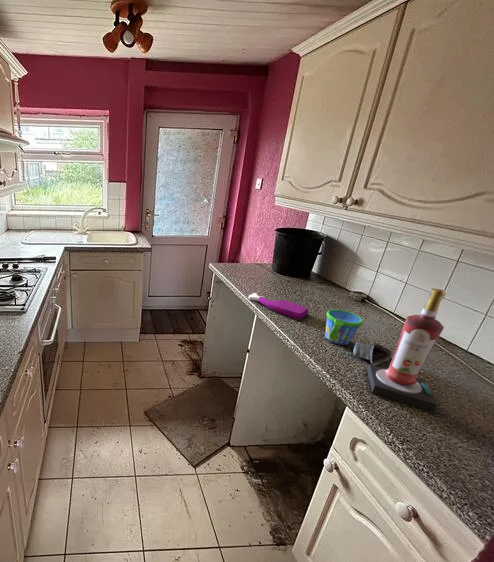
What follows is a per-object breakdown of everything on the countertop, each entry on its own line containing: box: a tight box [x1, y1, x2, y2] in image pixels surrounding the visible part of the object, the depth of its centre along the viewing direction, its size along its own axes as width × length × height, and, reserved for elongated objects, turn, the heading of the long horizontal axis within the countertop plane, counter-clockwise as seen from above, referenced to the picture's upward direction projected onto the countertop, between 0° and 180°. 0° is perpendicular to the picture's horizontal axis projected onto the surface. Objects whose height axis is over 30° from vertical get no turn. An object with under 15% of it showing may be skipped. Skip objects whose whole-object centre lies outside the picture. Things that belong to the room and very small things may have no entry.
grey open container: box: [353, 341, 393, 366], centre depth 104 cm, size 10×7×12 cm
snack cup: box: [324, 308, 364, 346], centre depth 112 cm, size 16×11×10 cm
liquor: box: [385, 288, 447, 385], centre depth 84 cm, size 7×7×28 cm
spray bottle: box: [248, 292, 309, 320], centre depth 139 cm, size 3×11×24 cm
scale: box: [366, 363, 437, 413], centre depth 89 cm, size 13×12×3 cm
